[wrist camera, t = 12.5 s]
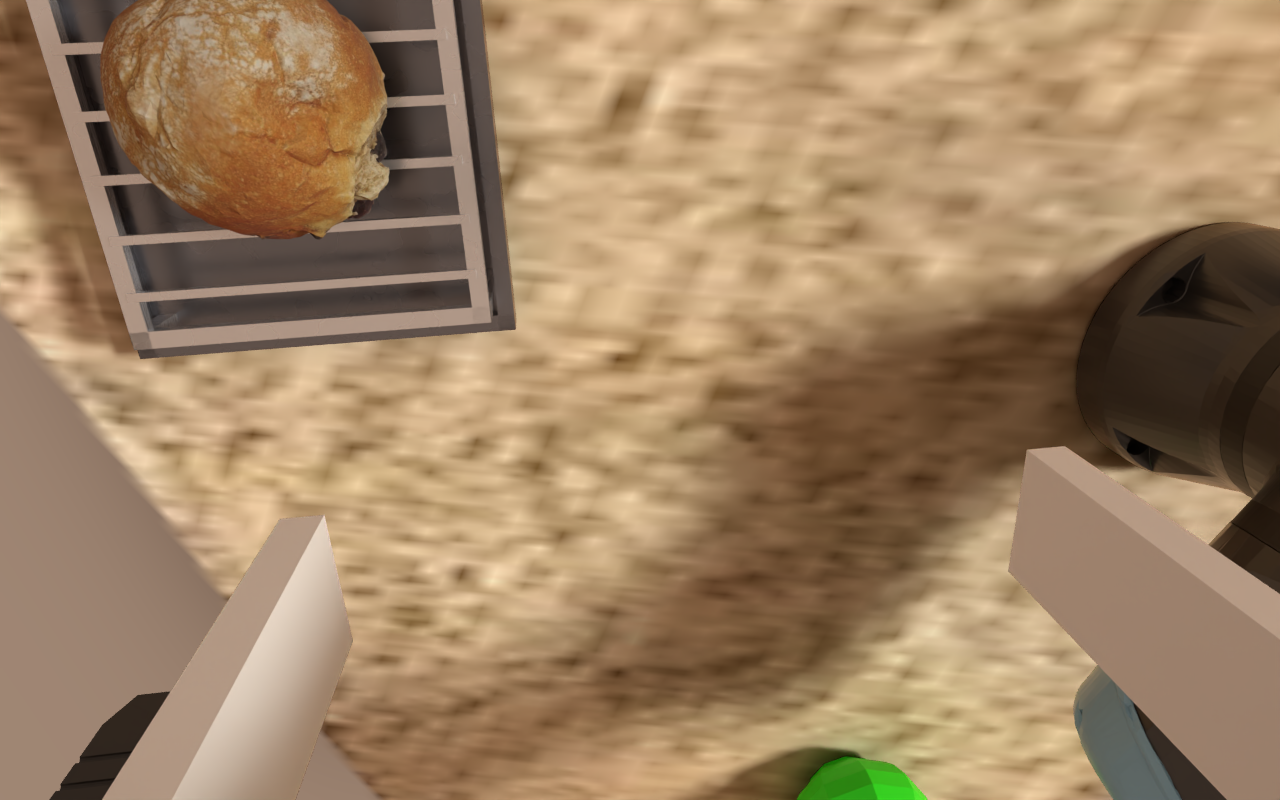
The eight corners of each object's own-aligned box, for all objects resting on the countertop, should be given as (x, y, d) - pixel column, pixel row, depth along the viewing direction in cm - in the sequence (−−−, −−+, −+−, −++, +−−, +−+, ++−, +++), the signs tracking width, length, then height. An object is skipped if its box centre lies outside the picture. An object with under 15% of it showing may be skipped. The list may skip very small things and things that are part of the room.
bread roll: (347, -22, 34) (236, -152, 26) (457, 183, 33) (379, 116, 25) (158, 94, 35) (-7, 2, 27) (263, 296, 34) (129, 264, 26)
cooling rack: (461, -188, 32) (452, -221, 29) (516, 320, 41) (515, 343, 37) (-4, -183, 31) (-75, -217, 27) (155, 348, 39) (117, 375, 35)
